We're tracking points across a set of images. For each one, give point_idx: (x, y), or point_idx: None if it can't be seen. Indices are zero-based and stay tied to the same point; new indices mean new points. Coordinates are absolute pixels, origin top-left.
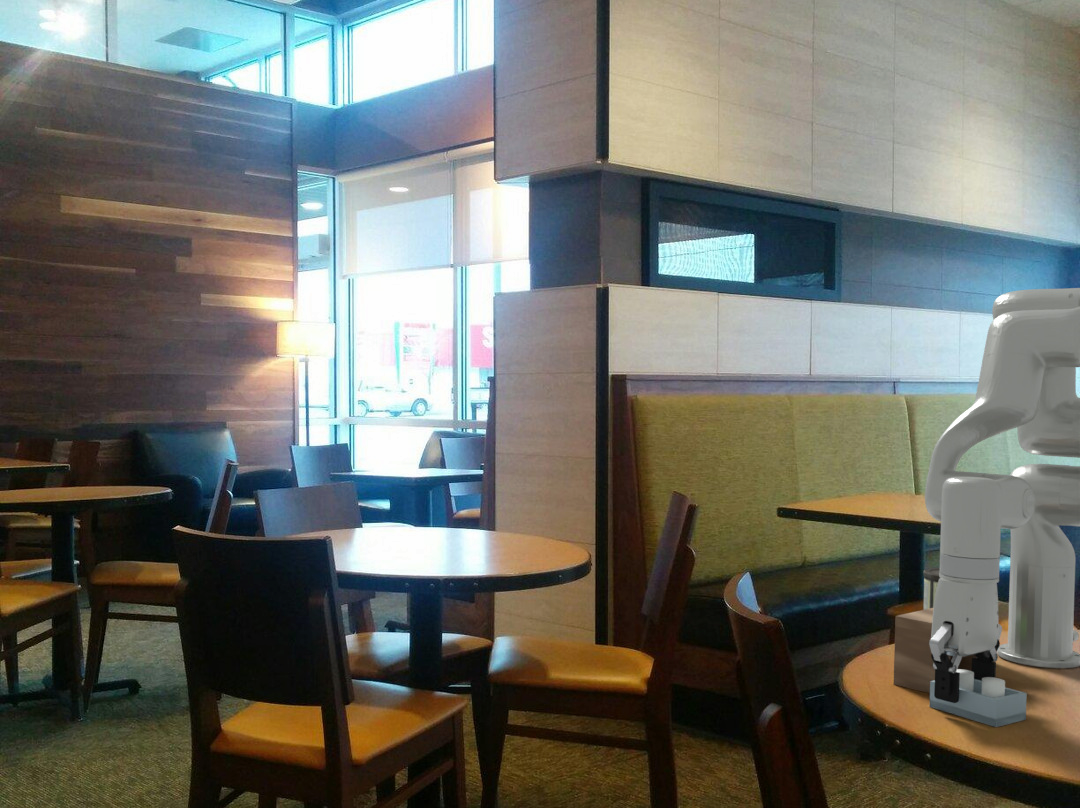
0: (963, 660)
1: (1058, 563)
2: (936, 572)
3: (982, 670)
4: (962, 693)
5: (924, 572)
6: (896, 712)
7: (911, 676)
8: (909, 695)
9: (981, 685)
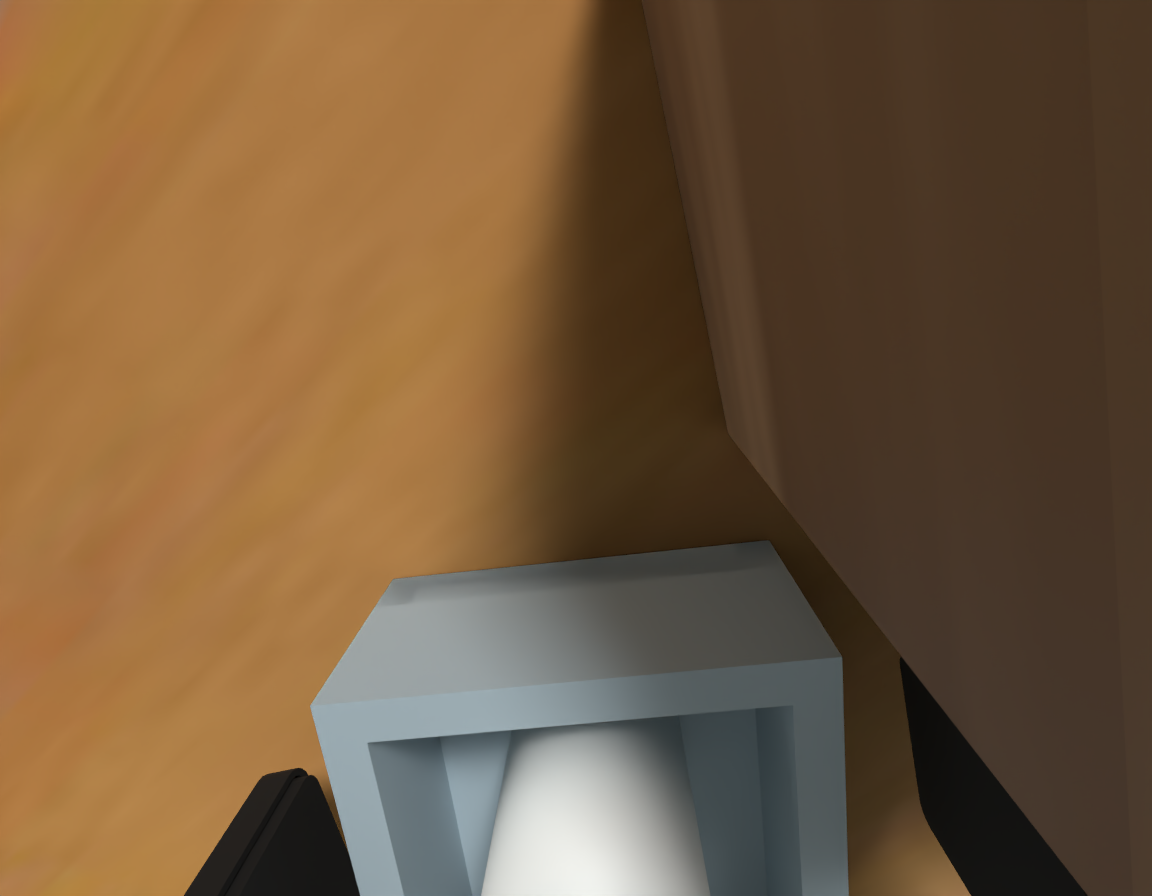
0: None
1: None
2: None
3: (1016, 890)
4: None
5: None
6: (54, 580)
7: (671, 55)
8: (474, 268)
9: (795, 879)
